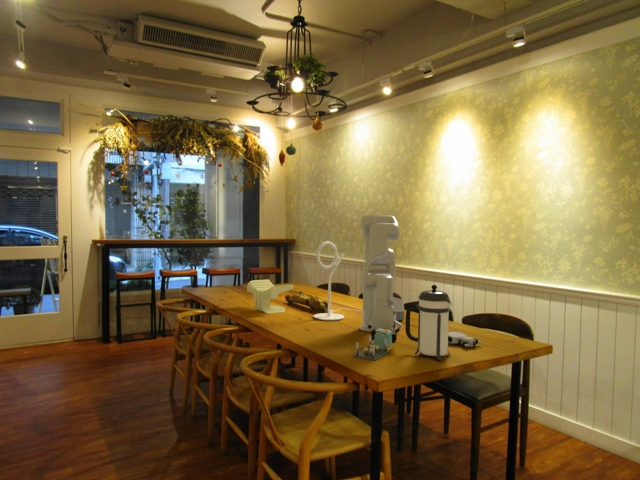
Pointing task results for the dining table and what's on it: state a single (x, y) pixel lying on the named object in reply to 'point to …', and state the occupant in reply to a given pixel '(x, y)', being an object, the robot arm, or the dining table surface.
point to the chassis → (371, 351)
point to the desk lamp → (329, 282)
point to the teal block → (380, 338)
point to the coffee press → (431, 323)
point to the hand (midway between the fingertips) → (383, 341)
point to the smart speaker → (399, 308)
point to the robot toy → (462, 339)
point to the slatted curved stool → (266, 294)
